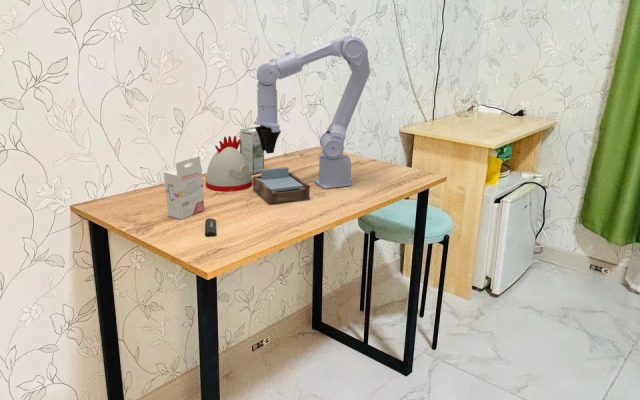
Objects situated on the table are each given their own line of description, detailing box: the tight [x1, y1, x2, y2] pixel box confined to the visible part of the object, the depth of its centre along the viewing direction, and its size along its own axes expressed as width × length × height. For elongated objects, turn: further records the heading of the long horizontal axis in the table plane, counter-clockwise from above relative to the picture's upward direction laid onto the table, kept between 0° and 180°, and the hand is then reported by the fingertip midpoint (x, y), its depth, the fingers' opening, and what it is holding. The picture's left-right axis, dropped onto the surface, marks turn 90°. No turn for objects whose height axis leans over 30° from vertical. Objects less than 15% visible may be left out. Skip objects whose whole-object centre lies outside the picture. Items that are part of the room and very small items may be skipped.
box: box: [252, 172, 311, 206], centre depth 149 cm, size 14×12×4 cm
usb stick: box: [204, 217, 217, 238], centre depth 124 cm, size 10×3×2 cm, turn 11°
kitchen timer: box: [205, 135, 253, 193], centre depth 156 cm, size 14×14×15 cm
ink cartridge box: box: [163, 155, 205, 220], centre depth 132 cm, size 9×5×15 cm, turn 148°
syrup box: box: [239, 126, 265, 176], centre depth 170 cm, size 6×6×14 cm
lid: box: [259, 166, 303, 192], centre depth 148 cm, size 11×10×4 cm
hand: (267, 151), depth 155 cm, fingers open, 3 cm apart
